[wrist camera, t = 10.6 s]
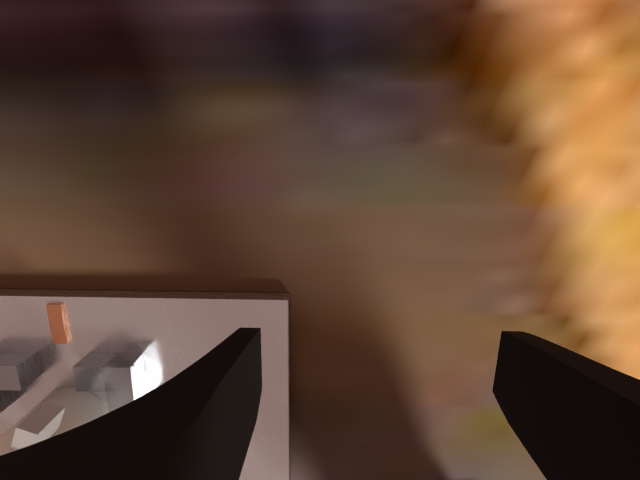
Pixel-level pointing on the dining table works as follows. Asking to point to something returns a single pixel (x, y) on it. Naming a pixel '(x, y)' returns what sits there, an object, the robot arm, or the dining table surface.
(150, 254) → the dining table surface
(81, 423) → the knob
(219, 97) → the dining table surface
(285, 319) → the hub plate
